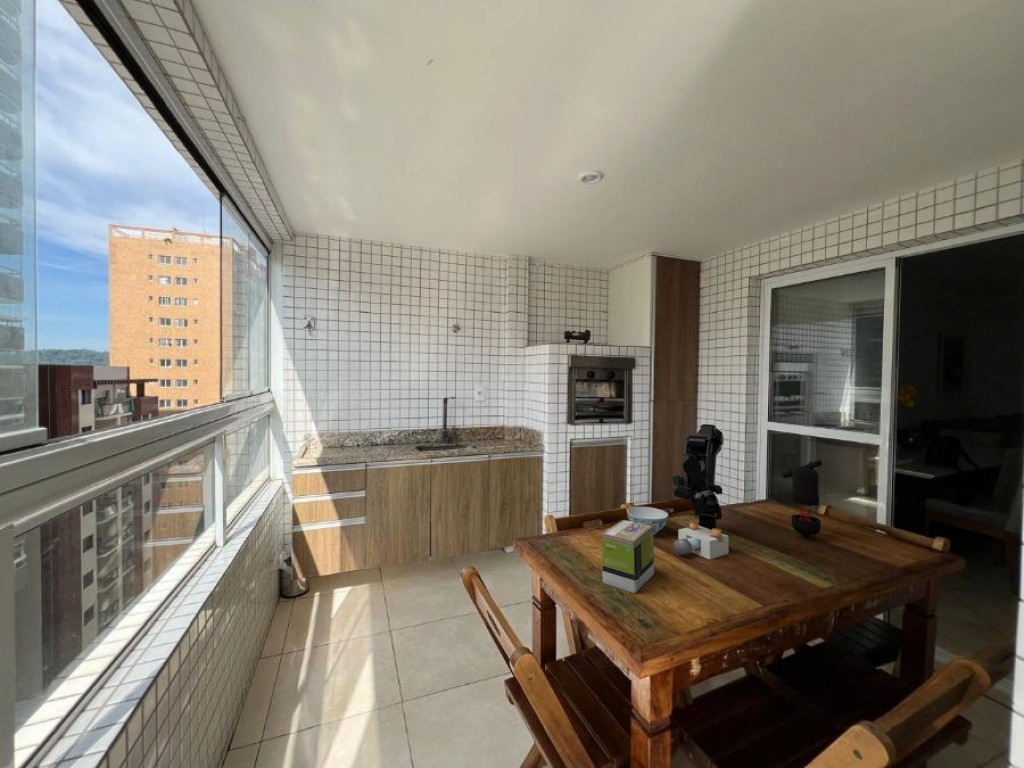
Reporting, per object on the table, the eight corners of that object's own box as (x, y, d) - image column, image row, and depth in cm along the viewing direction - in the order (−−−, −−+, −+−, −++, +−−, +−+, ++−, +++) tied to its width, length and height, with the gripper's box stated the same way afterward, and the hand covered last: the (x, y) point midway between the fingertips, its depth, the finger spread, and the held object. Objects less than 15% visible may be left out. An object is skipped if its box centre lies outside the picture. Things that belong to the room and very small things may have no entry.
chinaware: (661, 543, 143) (661, 521, 143) (621, 533, 152) (621, 513, 152) (672, 531, 155) (673, 511, 155) (635, 523, 164) (635, 504, 164)
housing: (696, 541, 145) (696, 524, 145) (728, 553, 134) (728, 535, 134) (678, 546, 140) (678, 529, 140) (709, 559, 130) (709, 541, 130)
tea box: (623, 565, 125) (623, 518, 125) (654, 574, 119) (655, 525, 119) (601, 583, 114) (601, 531, 114) (635, 595, 107) (635, 540, 107)
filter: (829, 541, 146) (829, 459, 146) (815, 545, 142) (815, 461, 142) (789, 529, 158) (789, 454, 158) (776, 533, 154) (775, 455, 154)
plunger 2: (715, 535, 136) (715, 527, 136) (723, 537, 133) (723, 530, 133) (710, 536, 134) (710, 529, 135) (717, 539, 132) (717, 531, 132)
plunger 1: (692, 528, 144) (692, 521, 144) (699, 531, 141) (699, 524, 141) (687, 530, 142) (687, 523, 142) (694, 532, 140) (694, 525, 140)
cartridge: (704, 543, 141) (704, 530, 141) (716, 547, 137) (716, 534, 137) (673, 551, 134) (673, 538, 134) (685, 556, 129) (685, 542, 130)
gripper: (696, 465, 152) (696, 506, 151) (661, 469, 143) (661, 512, 143) (723, 470, 142) (723, 514, 141) (687, 475, 133) (687, 521, 133)
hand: (698, 515), depth 140 cm, fingers closed
